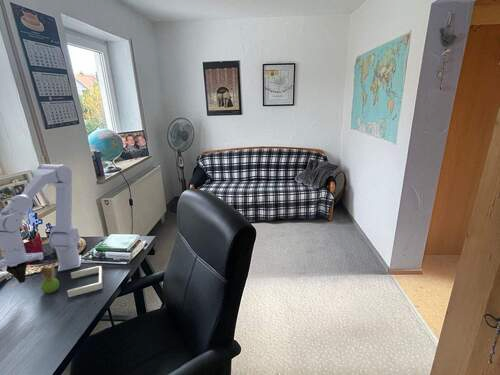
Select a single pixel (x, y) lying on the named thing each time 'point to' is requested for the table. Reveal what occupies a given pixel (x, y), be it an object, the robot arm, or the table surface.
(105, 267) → the table surface
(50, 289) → the snail figurine
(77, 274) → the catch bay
